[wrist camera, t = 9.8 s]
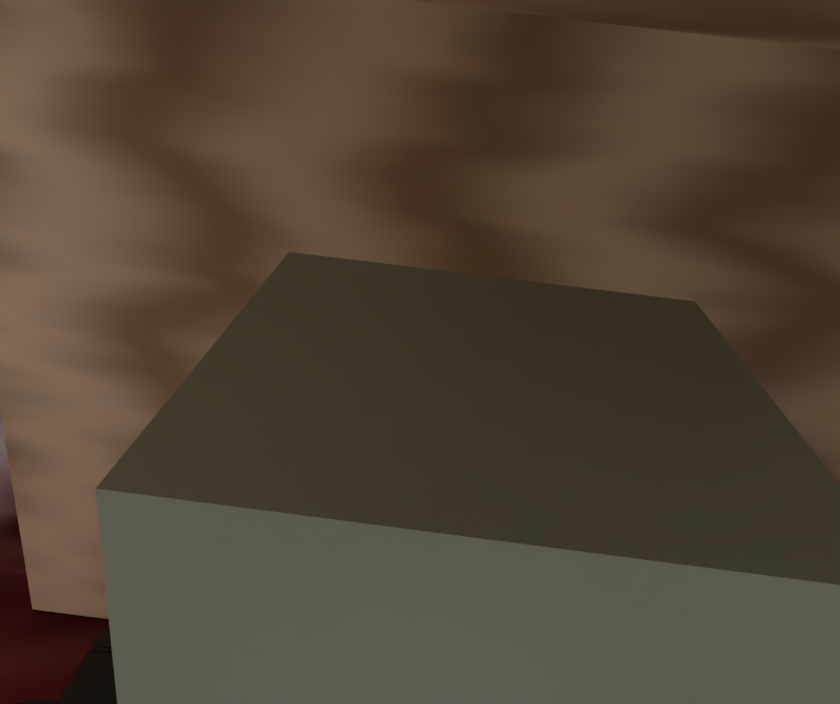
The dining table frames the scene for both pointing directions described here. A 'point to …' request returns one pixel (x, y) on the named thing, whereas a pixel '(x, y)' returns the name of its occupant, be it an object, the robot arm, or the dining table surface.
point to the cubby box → (390, 192)
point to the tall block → (469, 506)
